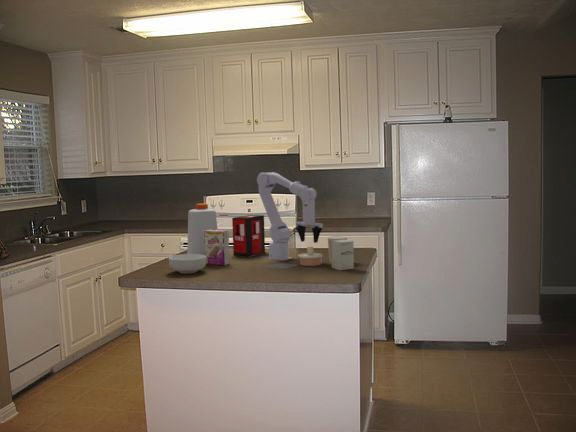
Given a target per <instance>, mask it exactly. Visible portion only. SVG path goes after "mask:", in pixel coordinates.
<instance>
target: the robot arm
mask: <svg viewBox="0 0 576 432" xmlns="http://www.w3.org/2000/svg"><path fill="white" fill-rule="evenodd" d="M256 182H257V183H256V184H257V185H258V194H259V196H260V199H261V201H262V204H263V207H264V209H265V210H264V211H265V212H266V214H267V217H268V219H269V222H270V227H269V233H270V238H271V241H270V242H269V246H268V258H267V259H268V260H272V261H273V260H274V261H287V260H290V259H292V257H290V254H289V251H290V250H289V241H290V239H291V236H292V232H291V231H292V230H291V229H290V228H289V227H288V225H287V223H285V222H284V221H283V220H282V218H281V215H280V213H279V210H278V208H277V205H276V203H275V200H274V197H273V195H272V190H273V189H274V187H275V186H277V185H276V184H278V185H281V186H283V187H285V188H286V189H289V192H290V193H292V194H293V195H295V196H298V197H299V198H300V199H301V203H302V221H295V230H296V231H297V233H298V235H299V239H300V242H305V241H306V240H305V239H306V230H307V227H308V228H311V230H312V235H313V243H315V244H316V243H318V242H319V237H320V234H321V233H322V231H323V228H324V224H323V222H322V223H321V222H316V212H315V211H316V210H315V209H316V206H315V205H316V203H315V202H316V201H315V199H316V198H317V196H318V192H317V190H316V189H315V188H314V187H309V186H308V185H304V184H302V183H301V181H299V180H298V181H291V180H290V179H287V178H286V177H284V176H283V175H280V174H279V173H277V172H275V171H272V172H260V173H259V174H258V176H257V178H256Z"/></svg>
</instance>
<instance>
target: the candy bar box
mask: <svg viewBox="0 0 576 432" xmlns="http://www.w3.org/2000/svg"><path fill="white" fill-rule="evenodd" d="M229 237H230V236H229V230H225V229H223V230H221V229H218V230H205V231H204V242H205V256H206V257H207V260H206V265H211V266H227V265H230V243H229V242H230V240H229V239H230V238H229Z"/></svg>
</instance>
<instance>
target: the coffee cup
mask: <svg viewBox="0 0 576 432" xmlns="http://www.w3.org/2000/svg"><path fill="white" fill-rule="evenodd" d="M326 240H327V247H328V248H327V249H328V257H329V263H331V264H332V241H334V240H348V238H347V236H341V235H339V236H338V235H337V236H329V237H327V239H326Z"/></svg>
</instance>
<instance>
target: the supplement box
mask: <svg viewBox="0 0 576 432" xmlns="http://www.w3.org/2000/svg"><path fill="white" fill-rule="evenodd" d="M354 258H355V257H354V240H350V239H347V240H334V241H332V263H331V268H332V269H334V270H338V271H343V270H344V271H345V270H354V267H355V264H354V263H355V262H354Z"/></svg>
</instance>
